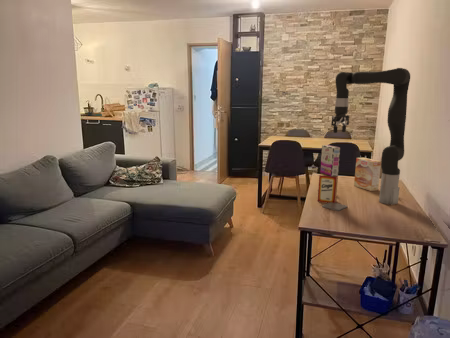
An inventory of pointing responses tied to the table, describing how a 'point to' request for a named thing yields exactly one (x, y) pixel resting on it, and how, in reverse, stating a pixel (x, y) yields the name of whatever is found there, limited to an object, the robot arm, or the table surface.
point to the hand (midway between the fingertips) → (339, 132)
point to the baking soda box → (327, 188)
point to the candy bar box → (330, 160)
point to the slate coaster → (335, 206)
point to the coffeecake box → (367, 173)
